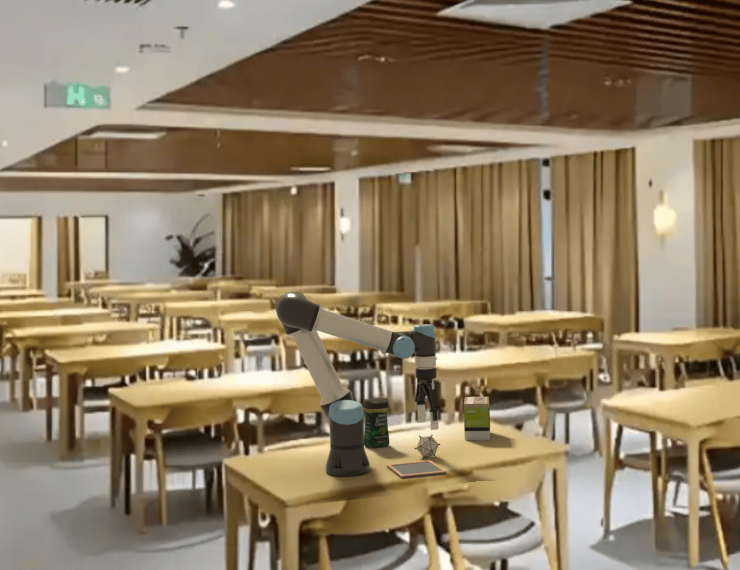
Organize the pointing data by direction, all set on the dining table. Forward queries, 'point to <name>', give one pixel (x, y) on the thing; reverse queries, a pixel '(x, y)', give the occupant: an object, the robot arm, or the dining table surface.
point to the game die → (427, 446)
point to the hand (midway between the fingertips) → (428, 425)
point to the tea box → (477, 418)
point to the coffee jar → (376, 422)
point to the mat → (416, 469)
